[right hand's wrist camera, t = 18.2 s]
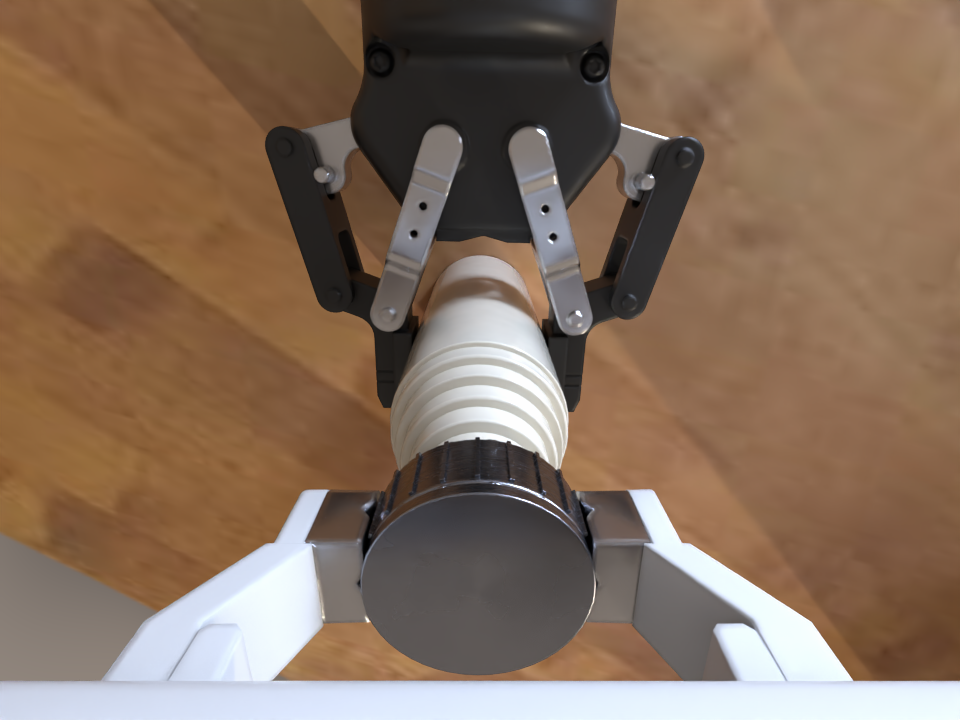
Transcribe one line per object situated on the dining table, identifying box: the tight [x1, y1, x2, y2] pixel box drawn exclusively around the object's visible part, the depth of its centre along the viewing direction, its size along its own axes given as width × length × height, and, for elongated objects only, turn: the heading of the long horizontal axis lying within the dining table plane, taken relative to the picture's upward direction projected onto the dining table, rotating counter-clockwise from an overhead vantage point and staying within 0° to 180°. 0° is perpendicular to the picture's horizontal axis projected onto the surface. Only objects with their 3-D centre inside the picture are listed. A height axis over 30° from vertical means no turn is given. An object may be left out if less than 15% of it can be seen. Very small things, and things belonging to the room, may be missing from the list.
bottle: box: [390, 255, 568, 471], centre depth 18 cm, size 5×5×18 cm
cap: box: [360, 437, 596, 675], centre depth 10 cm, size 4×4×2 cm
